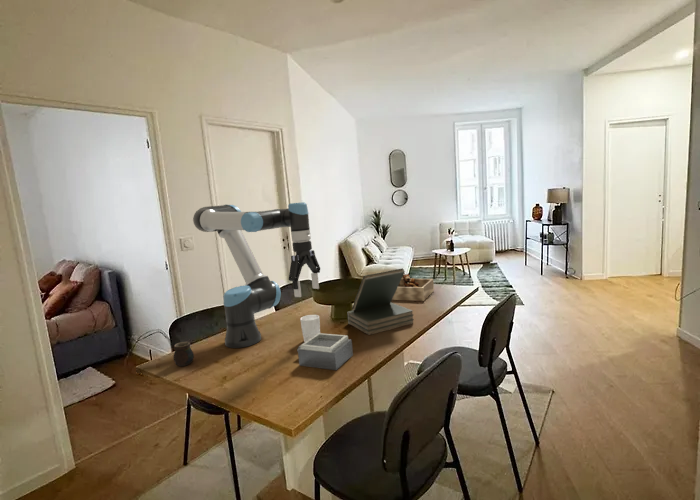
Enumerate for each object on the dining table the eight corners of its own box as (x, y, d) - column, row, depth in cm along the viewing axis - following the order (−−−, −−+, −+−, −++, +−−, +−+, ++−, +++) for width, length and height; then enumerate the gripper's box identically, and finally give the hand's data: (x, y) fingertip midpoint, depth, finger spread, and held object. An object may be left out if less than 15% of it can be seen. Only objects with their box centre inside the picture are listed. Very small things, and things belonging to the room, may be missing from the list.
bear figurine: (405, 300, 214) (403, 278, 212) (396, 293, 228) (395, 273, 227) (428, 296, 216) (427, 274, 214) (419, 290, 231) (418, 270, 229)
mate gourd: (179, 360, 155) (176, 336, 154) (198, 359, 155) (195, 335, 154) (170, 368, 148) (167, 343, 147) (190, 367, 148) (187, 341, 146)
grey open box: (290, 364, 142) (287, 344, 141) (309, 350, 154) (307, 331, 153) (336, 370, 134) (334, 349, 133) (353, 355, 145) (351, 335, 144)
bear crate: (386, 299, 217) (385, 287, 216) (399, 289, 236) (398, 278, 235) (423, 300, 208) (423, 287, 207) (433, 290, 226) (433, 278, 225)
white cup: (318, 344, 159) (316, 320, 158) (300, 344, 161) (297, 320, 160) (323, 337, 167) (321, 314, 166) (306, 337, 169) (303, 314, 167)
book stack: (390, 314, 191) (386, 263, 188) (414, 324, 174) (410, 268, 170) (348, 324, 182) (343, 271, 178) (368, 336, 164) (363, 277, 161)
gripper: (291, 245, 146) (298, 301, 149) (325, 236, 168) (330, 285, 171) (275, 246, 149) (281, 300, 152) (310, 237, 171) (315, 285, 174)
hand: (307, 292), depth 161 cm, fingers open, 13 cm apart
